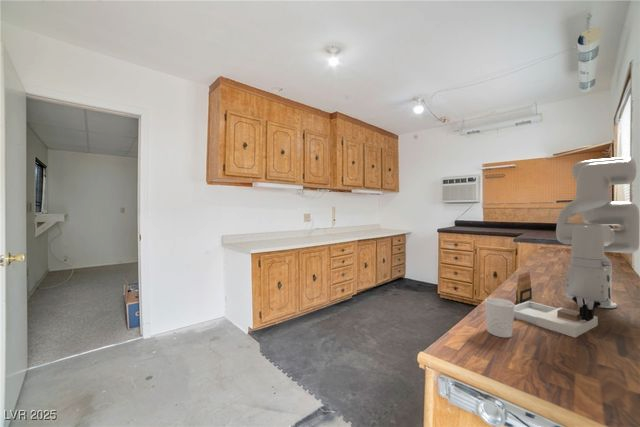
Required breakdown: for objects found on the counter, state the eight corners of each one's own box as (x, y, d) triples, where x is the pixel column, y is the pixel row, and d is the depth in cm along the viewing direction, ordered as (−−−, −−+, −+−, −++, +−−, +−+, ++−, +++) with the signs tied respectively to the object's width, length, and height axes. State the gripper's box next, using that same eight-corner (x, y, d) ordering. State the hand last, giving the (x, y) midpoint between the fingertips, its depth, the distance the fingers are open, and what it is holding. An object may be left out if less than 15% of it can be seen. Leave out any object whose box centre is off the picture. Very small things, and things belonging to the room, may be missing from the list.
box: (528, 307, 109) (528, 300, 109) (559, 315, 100) (559, 308, 100) (505, 315, 101) (505, 308, 100) (536, 324, 92) (536, 317, 92)
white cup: (509, 329, 88) (509, 299, 88) (518, 340, 81) (518, 307, 81) (482, 326, 91) (482, 296, 91) (488, 336, 84) (488, 304, 83)
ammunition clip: (520, 303, 113) (521, 275, 113) (515, 302, 115) (516, 274, 114) (531, 299, 119) (532, 271, 118) (526, 297, 120) (527, 271, 120)
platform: (560, 315, 100) (560, 307, 100) (597, 325, 91) (597, 316, 91) (536, 325, 91) (536, 316, 91) (575, 337, 83) (575, 327, 83)
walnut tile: (563, 313, 94) (563, 307, 94) (582, 318, 90) (582, 312, 90) (557, 316, 92) (557, 310, 92) (576, 321, 87) (576, 315, 87)
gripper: (625, 266, 82) (624, 326, 82) (562, 258, 95) (562, 310, 95) (616, 268, 78) (616, 331, 79) (553, 260, 91) (552, 314, 92)
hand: (586, 319), depth 87 cm, fingers closed
